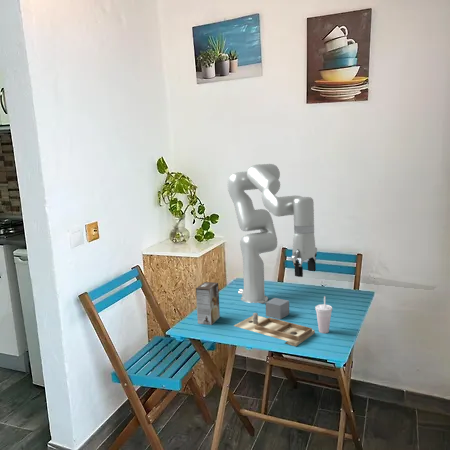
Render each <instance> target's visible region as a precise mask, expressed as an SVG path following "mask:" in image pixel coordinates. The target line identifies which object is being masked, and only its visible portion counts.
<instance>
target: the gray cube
mask: <svg viewBox="0 0 450 450" xmlns="http://www.w3.org/2000/svg"><path fill="white" fill-rule="evenodd" d="M289 315H290V300H288V299H282V298H278V297H273V298H271V299H268V301H267V302H266V303H265V316H266V317H267V318H273V319H277V320H281V321H282V319H284V318H285V317H287V316H289Z"/></svg>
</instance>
